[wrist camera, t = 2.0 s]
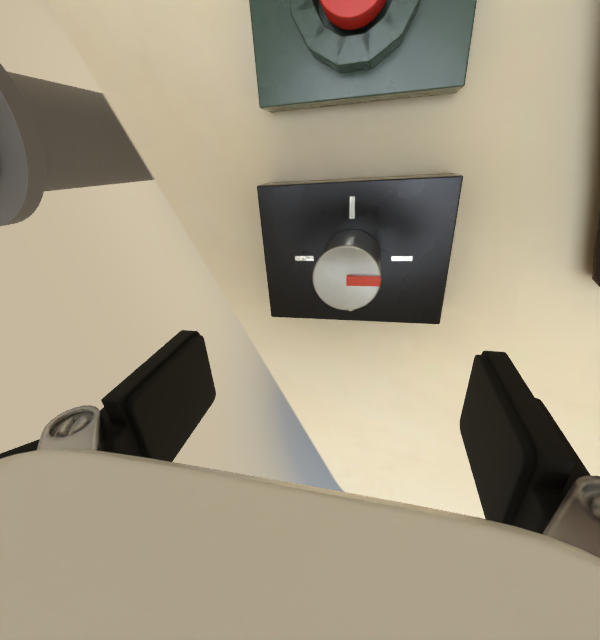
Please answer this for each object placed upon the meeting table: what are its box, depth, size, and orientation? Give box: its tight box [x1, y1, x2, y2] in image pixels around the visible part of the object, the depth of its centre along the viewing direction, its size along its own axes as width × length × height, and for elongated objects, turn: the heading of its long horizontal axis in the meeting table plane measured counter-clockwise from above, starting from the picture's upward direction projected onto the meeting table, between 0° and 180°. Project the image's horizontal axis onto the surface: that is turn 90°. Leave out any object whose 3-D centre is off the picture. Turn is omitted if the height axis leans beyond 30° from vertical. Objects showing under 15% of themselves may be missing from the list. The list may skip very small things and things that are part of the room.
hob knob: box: [313, 230, 381, 310], centre depth 20 cm, size 4×4×5 cm
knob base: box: [257, 173, 463, 324], centre depth 24 cm, size 13×10×3 cm
